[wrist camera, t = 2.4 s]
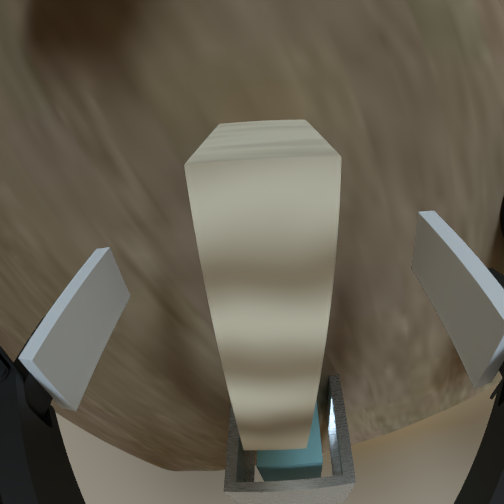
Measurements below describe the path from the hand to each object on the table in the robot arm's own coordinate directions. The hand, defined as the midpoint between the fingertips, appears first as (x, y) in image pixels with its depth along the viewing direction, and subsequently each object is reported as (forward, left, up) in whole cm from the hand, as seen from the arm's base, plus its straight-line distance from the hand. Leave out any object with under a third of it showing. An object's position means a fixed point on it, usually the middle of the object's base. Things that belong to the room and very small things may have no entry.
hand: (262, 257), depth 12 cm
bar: (0, -7, -8) cm, 11 cm away
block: (0, -25, -8) cm, 26 cm away
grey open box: (0, -25, -8) cm, 26 cm away
